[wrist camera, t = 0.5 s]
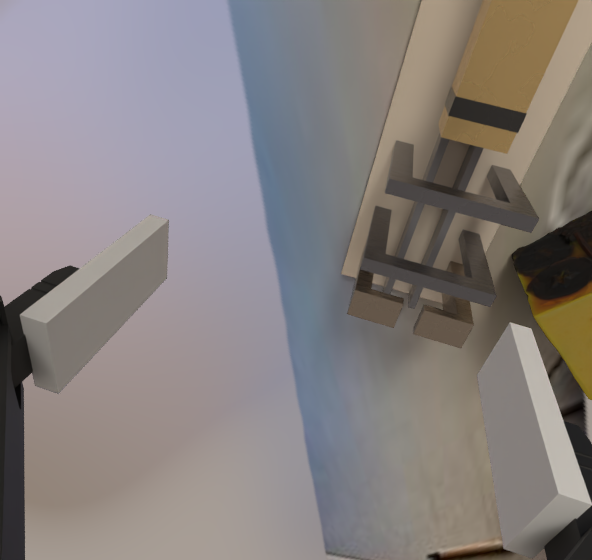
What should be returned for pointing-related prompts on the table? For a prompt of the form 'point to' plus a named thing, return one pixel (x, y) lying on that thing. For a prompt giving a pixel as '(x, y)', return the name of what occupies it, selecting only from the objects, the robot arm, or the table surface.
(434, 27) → the long cream board
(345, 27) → the table surface
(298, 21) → the table surface
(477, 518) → the table surface
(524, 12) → the long golden plank
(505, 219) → the collar
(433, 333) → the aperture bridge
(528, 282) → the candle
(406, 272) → the collar
